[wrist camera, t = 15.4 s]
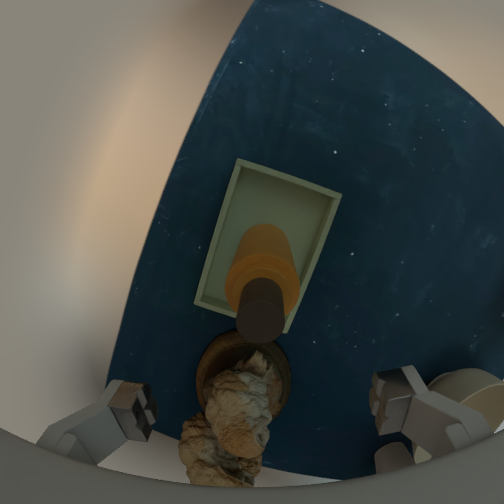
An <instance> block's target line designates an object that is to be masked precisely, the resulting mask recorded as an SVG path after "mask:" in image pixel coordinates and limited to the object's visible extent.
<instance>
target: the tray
mask: <svg viewBox="0 0 504 504" xmlns="http://www.w3.org/2000/svg"><path fill="white" fill-rule="evenodd" d="M341 197H342V194H340V193H337V192H335V191H332V190H330V189H327V188H324V187H322V186H319V185H316V184H313V183H311V182H308V181H305V180H302V179H300V178H297V177H294V176H291V175H288V174H285V173H282V172H279V171H276V170H273V169H270V168H267V167H264V166H261V165H258V164H255V163H252V162H249V161H246V160H242V159H239V158H237V160H236V164H235V167H234V170H233V173H232V176H231V179H230V182H229V185H228V188H227V192H226V195H225V198H224V201H223V204H222V208H221V211H220V214H219V217H218V221H217V224H216V227H215V231H214V234H213V237H212V241H211V244H210V248H209V251H208V254H207V258H206V261H205V265H204V268H203V272H202V275H201V279H200V282H199V286H198V290H197V293H196V297H195V301H194V304H195V305H197V306H200V307H203V308H206V309H209V310H212V311H215V312H218V313H221V314H225V315H228V316H231V317H234V318H236V315H237V313H235V312H234V310H233V309H232V308H231V307H230V305H229V303H228V301H227V299H226V295H225V281H226V277H227V275H228V272H229V269H230V267H231V264H232V262H233V259H234V256H235V254H236V251H237V249H238V246H239V244H240V241H241V238H242V236H243V235H244V233H245V232H246V231H247V230H248V229H250V228H251V227H253V226H255V225H258V224H271V225H274V226H276V227H278V228H279V229H281V230H282V231H283V232H284V233H285V235H286V236H287V238H288V241H289V245H290V248H291V252H292V256H293V259H294V263H295V267H296V271H297V274H298V278H299V282H300V294H299V298H298V301H297V303H296V305H295V307H294V308H293V309H292V310H291V312H290V313H288V314H287V315H286V316H285V327H284V330H283V333H287V332H288V330H289V328H290V325H291V323H292V321H293V318H294V316H295V314H296V312H297V309H298V307H299V304H300V302H301V300H302V297H303V295H304V293H305V290H306V288H307V285H308V283H309V280H310V278H311V276H312V273H313V271H314V268H315V266H316V263H317V261H318V258H319V255H320V253H321V250H322V248H323V245H324V243H325V240H326V237H327V235H328V232H329V229H330V227H331V224H332V221H333V219H334V216H335V213H336V211H337V208H338V205H339V202H340V200H341Z"/></svg>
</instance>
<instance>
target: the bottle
mask: <svg viewBox="0 0 504 504" xmlns="http://www.w3.org/2000/svg"><path fill="white" fill-rule="evenodd" d="M299 294H300V282H299V278H298V274H297V271H296V267H295V263H294V259H293V256H292V252H291V248H290V245H289V241H288V238H287V236H286V235H285V233H284V232H283V231H282V230H281V229H279V228H278V227H276V226H274V225H271V224H258V225H255V226H253V227H251V228H250V229H248V230H247V231H246V232H245V233H244V235H243V236H242V238H241V241H240V244H239V246H238V249H237V251H236V254H235V256H234V259H233V262H232V264H231V267H230V269H229V272H228V275H227V277H226V281H225V295H226V299H227V301H228V303H229V305H230V307H231V308H232V309H233V310H234V312H235V313H237V315H236V327H237V330H238V331H239V333H240V334H241V335H242V336H243V337H244V338H245V339H247V340H248V341H250V342H254V343H268V342H271V341H273V340H275V339H276V338H278V337H279V336H280V335H281V333H282V332H283V330H284V327H285V316H286V315H287V314H288V313H290V312H291V310H292V309H293V308H294V307H295V305H296V303H297V301H298V298H299Z"/></svg>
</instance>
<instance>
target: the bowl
mask: <svg viewBox="0 0 504 504" xmlns="http://www.w3.org/2000/svg"><path fill="white" fill-rule="evenodd" d="M427 388H428V390H429V391H435V392H437V393H439V394H441V395H443V396H445V397H447V398H449V399H451V400H454V401H456V402H458V403H460V404H462V405H464V406H467V407H469V408H471V409H473V410H475V411H478V412H480V413H481V414H482V416H483V417H484V419H485V420H486V422H487V423H488V425H489V426H490V428H491V429H492V431H493V432H495V431H496V429H497V428H498V427H499V426H500V424H501V423H502V422H503V420H504V382H503V381H502V380H500V379H498V378H497V377H495V376H493V375H492V374H490V373H488V372H486V371H484V370H481V369H476V368H465V369H459V370H456V371H453V372H447V373H443V374H441V375H439V376H438V377H436V378H435V379H433V380H432V381H431V382H430V383H429V384H428V386H427ZM412 447H413V456H414V461H415V463H416V464H418V463H421V462H424V461H427V460H430V459H431V457H432V455H430V454H429V453H428V452H426V451H425V450H424V449H422V448H421V447H420V446H418V445H417V444H416V443H414V442H413V441H412Z"/></svg>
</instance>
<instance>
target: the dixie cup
mask: <svg viewBox="0 0 504 504" xmlns="http://www.w3.org/2000/svg"><path fill="white" fill-rule="evenodd" d="M374 458H375V466H376V474H379V473H384V472H388V471H392V470H396V469H400V468H404V467H407V466H411V465H414V464H416V463H415V462H414V460H413V458H412V457H411V455H410V453H409V452H408V450H407V448H406V447H405V445H404V443H402V442H393V443H389V444H387V445H385V446H383V447H381V448H380V449H379V450H378V451H377V452H376V453H375V455H374Z"/></svg>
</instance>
